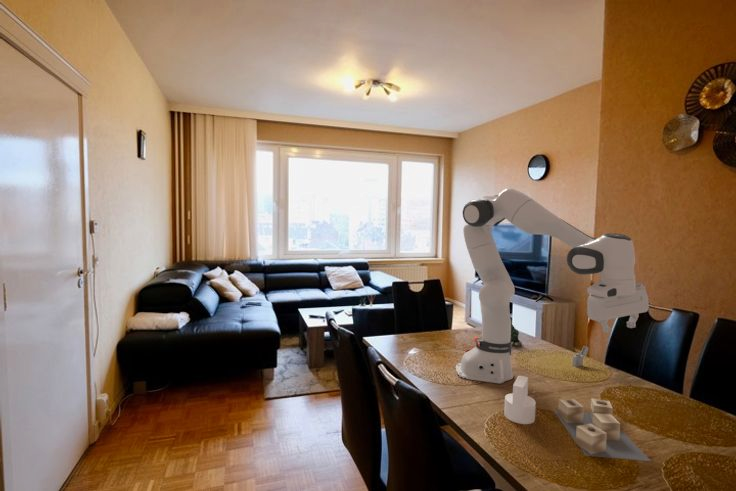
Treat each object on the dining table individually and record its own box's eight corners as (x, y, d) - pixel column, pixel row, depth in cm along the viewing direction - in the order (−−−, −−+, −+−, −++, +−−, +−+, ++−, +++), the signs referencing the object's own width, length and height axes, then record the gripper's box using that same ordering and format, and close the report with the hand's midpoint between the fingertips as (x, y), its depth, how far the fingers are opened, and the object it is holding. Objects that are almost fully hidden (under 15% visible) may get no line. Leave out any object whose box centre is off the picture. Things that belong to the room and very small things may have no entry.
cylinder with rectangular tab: (532, 429, 112) (534, 390, 111) (501, 420, 117) (502, 382, 116) (536, 416, 120) (538, 379, 119) (507, 408, 124) (508, 373, 124)
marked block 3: (591, 454, 99) (592, 435, 99) (575, 443, 104) (576, 425, 104) (605, 451, 101) (606, 432, 100) (589, 440, 105) (590, 422, 105)
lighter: (575, 366, 161) (576, 348, 160) (572, 365, 162) (573, 347, 162) (588, 364, 163) (589, 346, 162) (584, 363, 165) (585, 345, 164)
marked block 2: (592, 420, 116) (593, 404, 116) (590, 413, 121) (591, 397, 120) (611, 424, 114) (612, 407, 114) (608, 416, 119) (609, 400, 118)
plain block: (600, 439, 106) (601, 422, 106) (592, 429, 111) (593, 413, 111) (619, 440, 105) (620, 423, 105) (610, 430, 110) (611, 414, 110)
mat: (585, 457, 99) (585, 455, 99) (552, 411, 123) (552, 409, 122) (651, 463, 97) (651, 461, 97) (605, 415, 120) (605, 413, 120)
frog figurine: (485, 338, 199) (485, 316, 198) (517, 337, 201) (518, 316, 200) (500, 349, 181) (500, 326, 181) (535, 349, 183) (536, 325, 182)
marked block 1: (567, 423, 114) (568, 406, 114) (558, 414, 119) (558, 398, 119) (583, 422, 115) (584, 406, 114) (573, 414, 120) (574, 398, 119)
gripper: (635, 279, 121) (636, 321, 122) (582, 289, 116) (584, 332, 117) (654, 283, 114) (655, 327, 116) (600, 293, 109) (601, 338, 111)
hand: (619, 329), depth 116 cm, fingers open, 8 cm apart
